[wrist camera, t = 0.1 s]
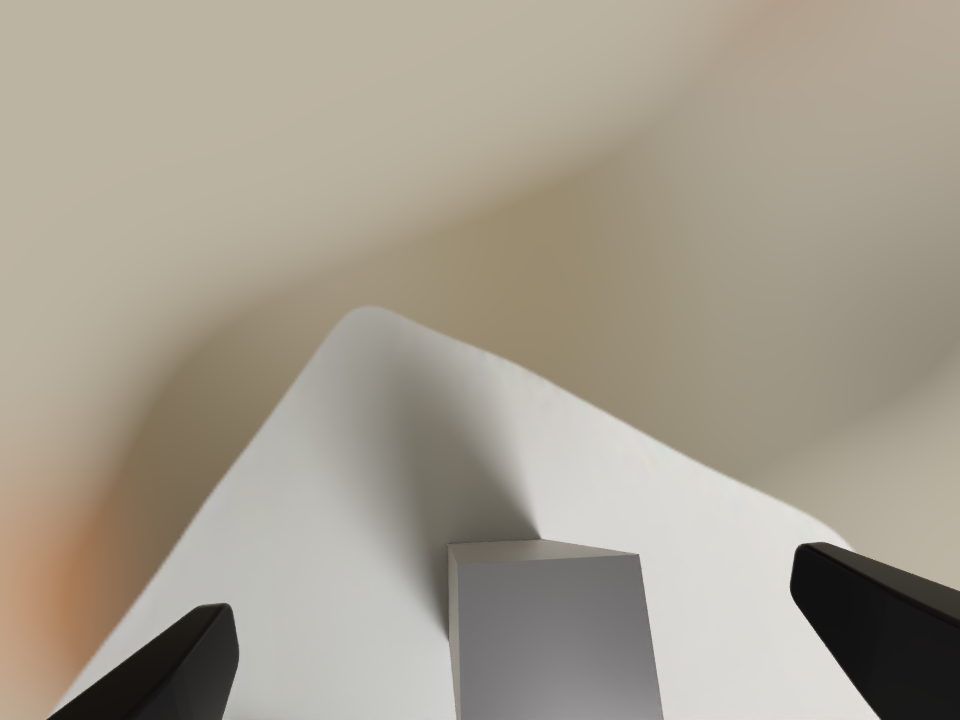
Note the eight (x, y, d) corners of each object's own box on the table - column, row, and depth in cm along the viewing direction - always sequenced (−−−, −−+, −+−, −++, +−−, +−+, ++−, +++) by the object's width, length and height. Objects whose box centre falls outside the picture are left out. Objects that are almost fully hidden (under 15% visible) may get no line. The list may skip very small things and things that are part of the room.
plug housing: (549, 634, 20) (669, 754, 10) (448, 642, 20) (462, 775, 9) (541, 539, 21) (638, 554, 11) (447, 543, 21) (457, 564, 11)
